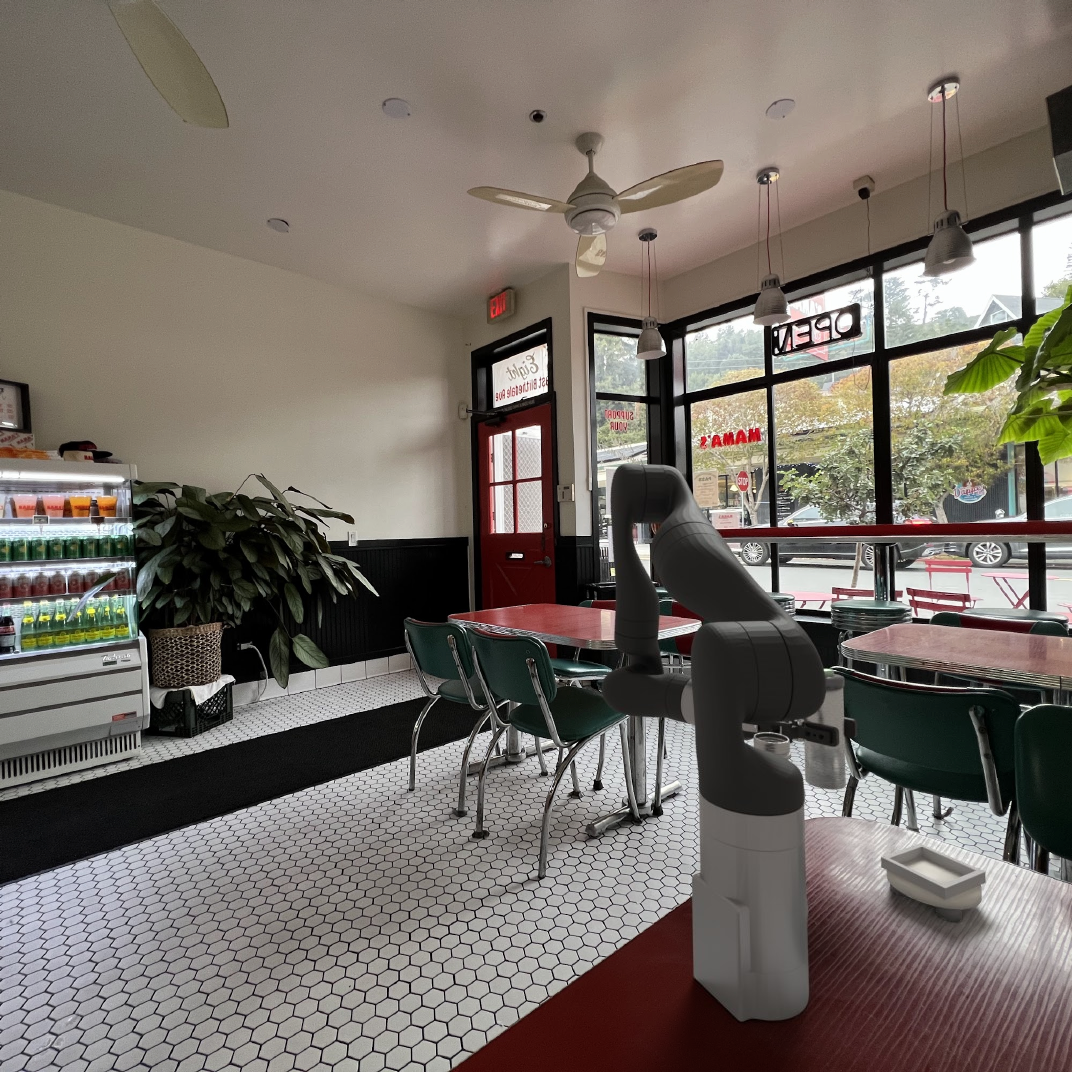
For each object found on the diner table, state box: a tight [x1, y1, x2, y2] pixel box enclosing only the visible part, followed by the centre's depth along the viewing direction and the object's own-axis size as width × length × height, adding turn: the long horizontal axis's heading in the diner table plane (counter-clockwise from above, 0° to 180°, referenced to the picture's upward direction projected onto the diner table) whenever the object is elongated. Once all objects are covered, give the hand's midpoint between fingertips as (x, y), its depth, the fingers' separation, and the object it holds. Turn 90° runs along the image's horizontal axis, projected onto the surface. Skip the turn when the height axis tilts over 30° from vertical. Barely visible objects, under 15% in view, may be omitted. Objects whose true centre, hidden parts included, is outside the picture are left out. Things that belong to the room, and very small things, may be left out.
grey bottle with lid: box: [803, 668, 847, 791], centre depth 74 cm, size 5×5×14 cm
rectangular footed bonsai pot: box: [880, 843, 987, 923], centre depth 68 cm, size 9×9×4 cm
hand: (846, 733), depth 72 cm, fingers closed on grey bottle with lid, 4 cm apart
